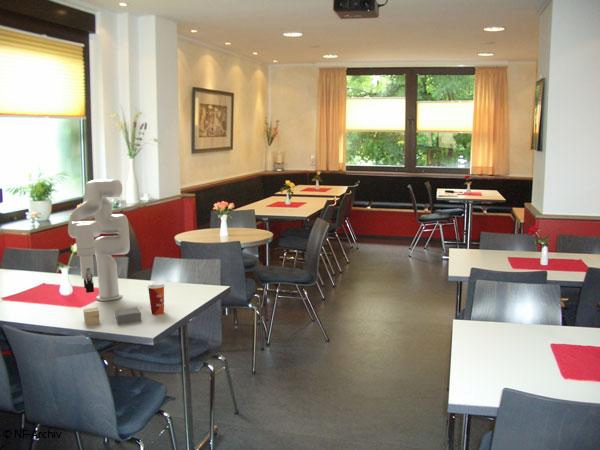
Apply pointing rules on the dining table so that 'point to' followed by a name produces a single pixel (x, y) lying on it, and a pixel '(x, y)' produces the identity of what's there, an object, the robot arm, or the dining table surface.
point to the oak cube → (91, 316)
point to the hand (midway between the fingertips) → (89, 289)
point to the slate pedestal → (127, 315)
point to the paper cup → (156, 297)
